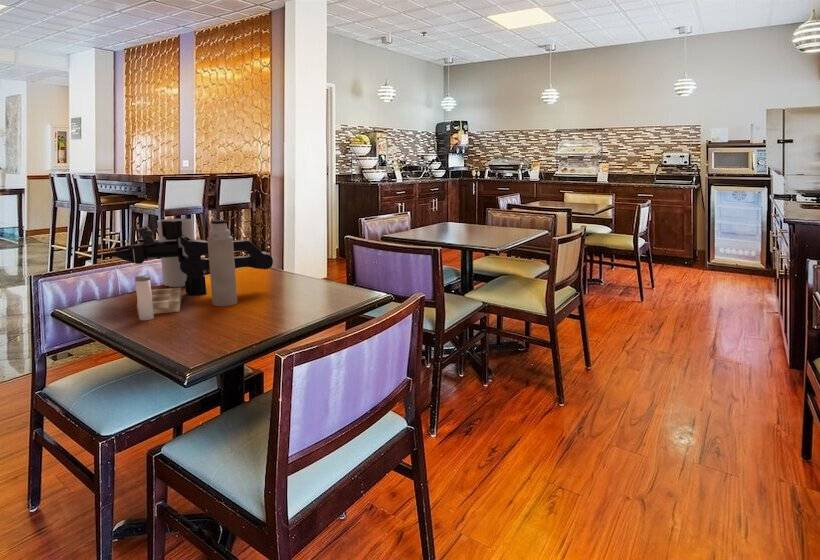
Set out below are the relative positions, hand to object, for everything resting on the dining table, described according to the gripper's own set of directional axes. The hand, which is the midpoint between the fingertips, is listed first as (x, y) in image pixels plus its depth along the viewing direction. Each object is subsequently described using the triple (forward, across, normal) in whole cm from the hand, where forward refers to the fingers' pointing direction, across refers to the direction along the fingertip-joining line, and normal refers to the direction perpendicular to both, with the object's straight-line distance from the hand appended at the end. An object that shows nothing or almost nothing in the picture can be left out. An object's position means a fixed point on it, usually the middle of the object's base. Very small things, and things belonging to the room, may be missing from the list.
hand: (113, 252), depth 185 cm
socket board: (-14, +15, +17) cm, 27 cm away
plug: (-11, +30, +17) cm, 36 cm away
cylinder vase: (-19, -18, +17) cm, 31 cm away
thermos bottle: (-34, +19, +17) cm, 43 cm away
